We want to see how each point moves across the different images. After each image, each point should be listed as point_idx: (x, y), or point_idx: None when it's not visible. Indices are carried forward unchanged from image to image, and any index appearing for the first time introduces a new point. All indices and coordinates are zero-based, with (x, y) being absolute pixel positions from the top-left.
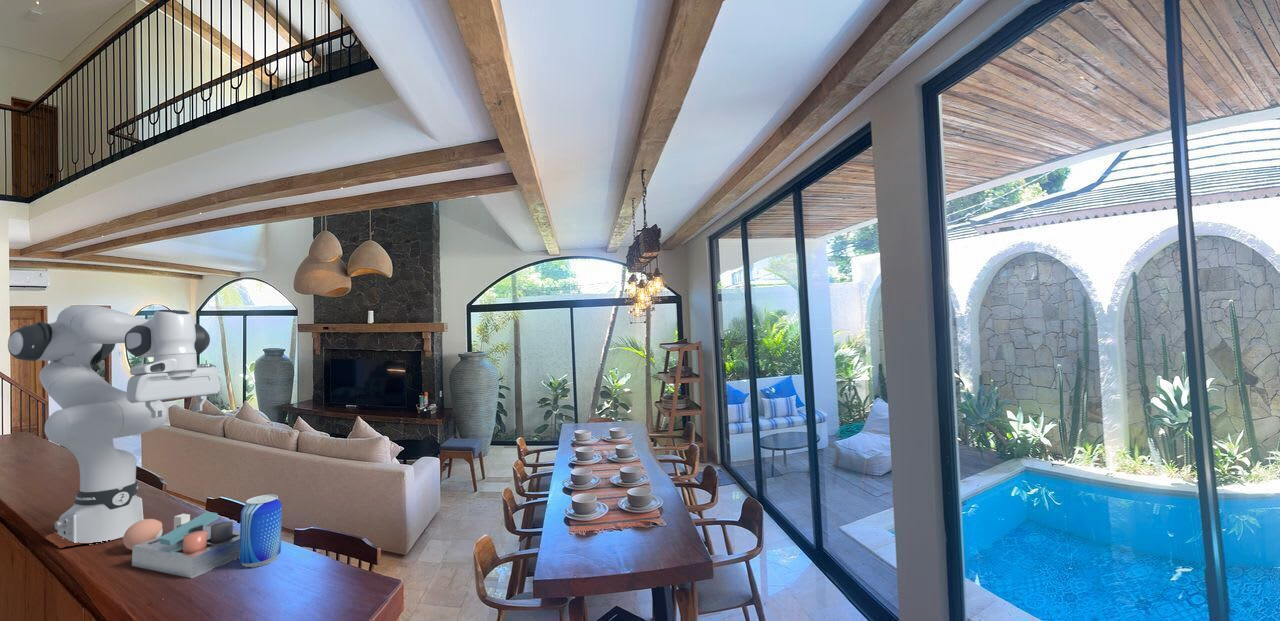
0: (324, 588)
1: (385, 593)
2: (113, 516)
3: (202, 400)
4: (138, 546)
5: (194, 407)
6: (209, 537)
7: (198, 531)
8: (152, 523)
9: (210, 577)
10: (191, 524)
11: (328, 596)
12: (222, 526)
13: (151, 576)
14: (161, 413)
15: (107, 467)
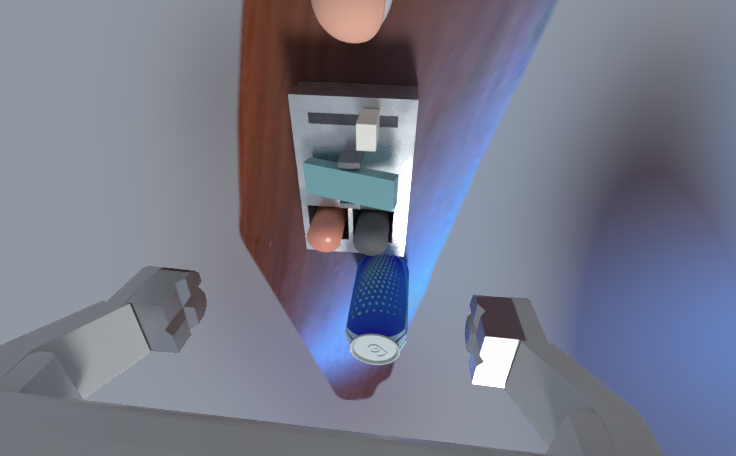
0: (353, 359)
1: (363, 396)
2: None
3: (549, 446)
4: (292, 111)
5: (481, 346)
6: None
7: (333, 233)
8: (353, 30)
9: None
10: (350, 190)
11: (343, 368)
12: (364, 250)
13: (294, 165)
14: (189, 329)
15: None
